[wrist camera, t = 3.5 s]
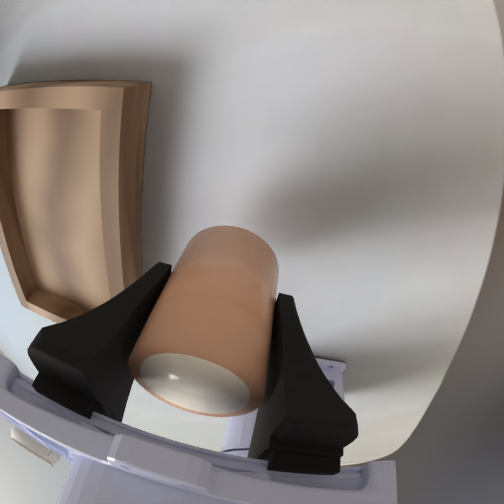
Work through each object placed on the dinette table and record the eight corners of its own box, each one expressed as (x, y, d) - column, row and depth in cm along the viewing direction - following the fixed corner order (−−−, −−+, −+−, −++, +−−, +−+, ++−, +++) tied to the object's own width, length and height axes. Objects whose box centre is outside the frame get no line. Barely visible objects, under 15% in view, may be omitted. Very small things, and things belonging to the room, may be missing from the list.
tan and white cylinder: (290, 240, 14) (282, 370, 8) (265, 312, 17) (248, 427, 11) (187, 214, 14) (119, 326, 8) (180, 290, 17) (134, 396, 11)
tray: (151, 82, 14) (123, 87, 11) (145, 327, 25) (133, 353, 23) (6, 85, 13) (-23, 94, 11) (37, 286, 25) (21, 305, 22)
